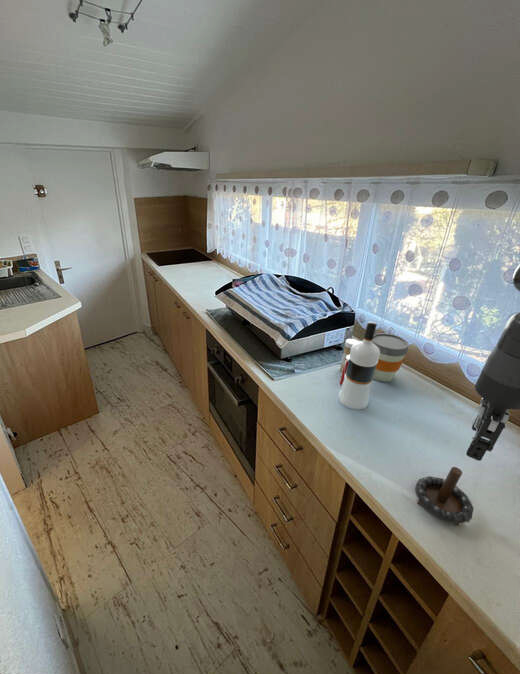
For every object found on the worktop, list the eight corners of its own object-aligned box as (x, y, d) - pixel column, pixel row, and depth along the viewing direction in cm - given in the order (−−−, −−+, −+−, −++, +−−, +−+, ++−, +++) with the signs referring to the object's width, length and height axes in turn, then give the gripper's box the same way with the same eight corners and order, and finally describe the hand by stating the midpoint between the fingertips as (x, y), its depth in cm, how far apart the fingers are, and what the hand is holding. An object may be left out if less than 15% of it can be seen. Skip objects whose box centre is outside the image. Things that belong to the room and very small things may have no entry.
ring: (474, 500, 71) (477, 494, 70) (466, 536, 64) (470, 530, 63) (421, 472, 78) (423, 467, 77) (409, 502, 71) (411, 496, 70)
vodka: (339, 409, 101) (358, 328, 86) (336, 392, 109) (352, 315, 94) (369, 413, 99) (393, 331, 85) (364, 395, 107) (385, 317, 93)
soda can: (346, 391, 109) (353, 363, 103) (336, 383, 113) (342, 355, 107) (357, 387, 111) (364, 359, 105) (347, 379, 115) (353, 352, 109)
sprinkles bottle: (344, 366, 123) (351, 337, 117) (354, 371, 120) (361, 342, 113) (337, 370, 121) (343, 340, 115) (346, 375, 117) (353, 345, 111)
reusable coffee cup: (376, 386, 111) (386, 351, 104) (355, 367, 122) (363, 334, 115) (406, 382, 113) (417, 347, 106) (383, 364, 124) (392, 331, 117)
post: (463, 500, 72) (481, 469, 67) (458, 526, 67) (477, 494, 62) (424, 480, 77) (438, 450, 72) (417, 503, 72) (432, 472, 67)
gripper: (544, 405, 44) (498, 479, 52) (541, 364, 53) (502, 431, 61) (479, 385, 49) (445, 456, 56) (487, 350, 58) (457, 414, 66)
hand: (475, 443), depth 59 cm, fingers open, 8 cm apart
